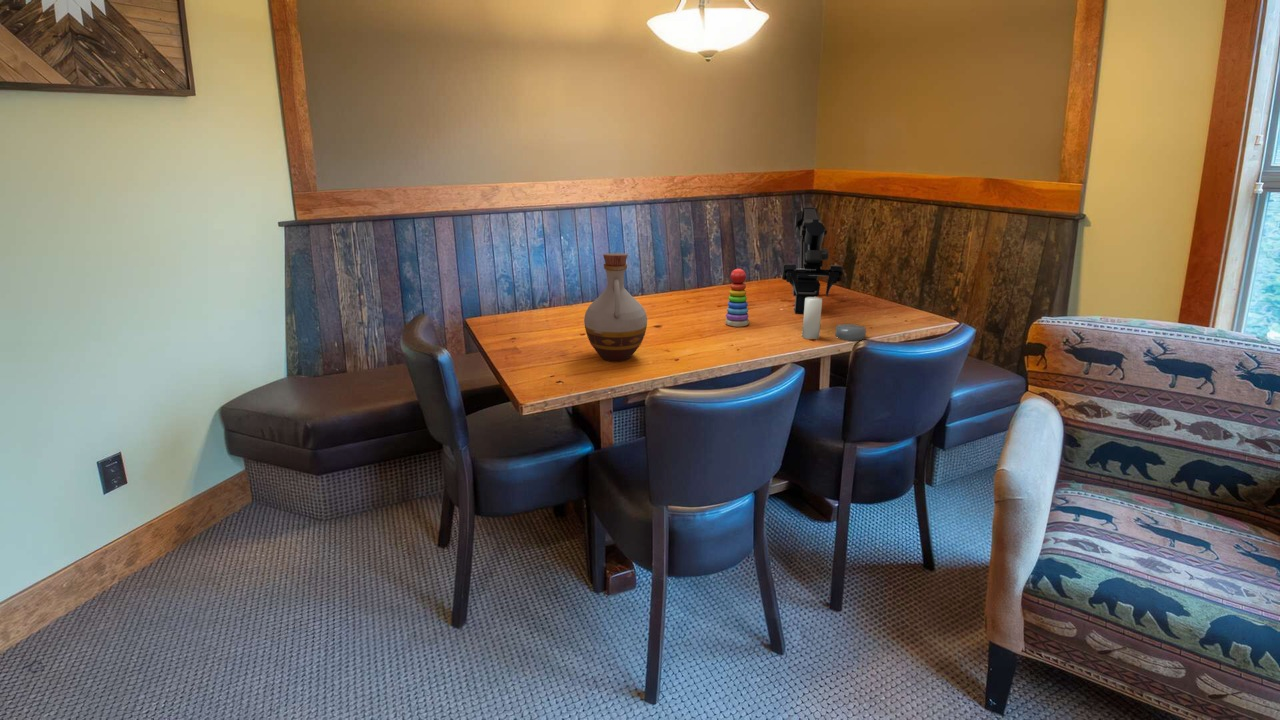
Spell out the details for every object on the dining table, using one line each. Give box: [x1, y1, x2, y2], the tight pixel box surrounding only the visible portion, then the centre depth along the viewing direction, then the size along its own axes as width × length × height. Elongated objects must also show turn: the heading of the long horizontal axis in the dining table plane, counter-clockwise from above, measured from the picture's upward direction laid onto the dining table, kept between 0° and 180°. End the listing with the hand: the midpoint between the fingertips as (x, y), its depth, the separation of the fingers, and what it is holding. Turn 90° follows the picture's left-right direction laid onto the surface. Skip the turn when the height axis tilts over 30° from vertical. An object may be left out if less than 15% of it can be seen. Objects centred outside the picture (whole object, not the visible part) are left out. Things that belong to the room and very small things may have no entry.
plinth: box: [835, 323, 866, 342], centre depth 229 cm, size 9×9×3 cm
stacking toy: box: [724, 268, 750, 328], centre depth 240 cm, size 8×8×19 cm
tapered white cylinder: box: [801, 296, 823, 340], centre depth 226 cm, size 5×5×12 cm
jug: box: [583, 252, 648, 363], centre depth 202 cm, size 20×18×30 cm
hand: (812, 294), depth 230 cm, fingers open, 9 cm apart
